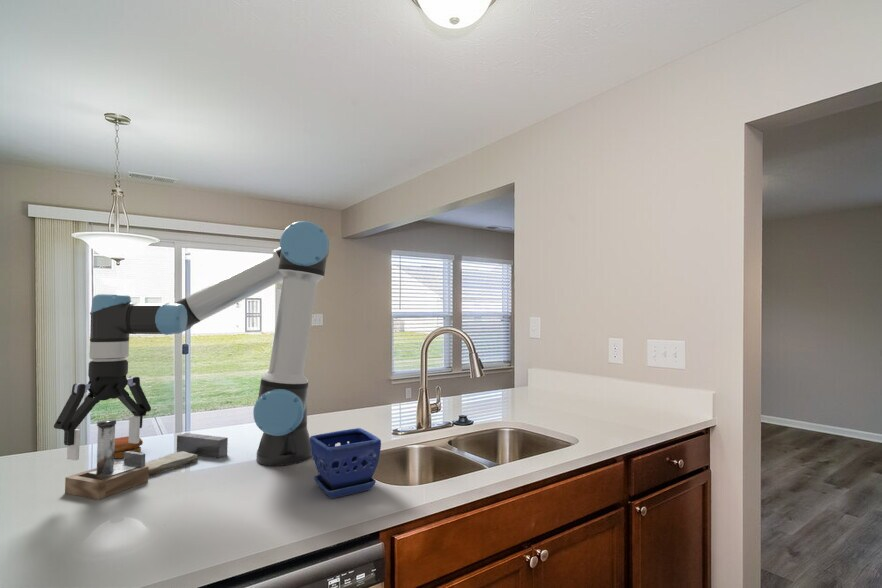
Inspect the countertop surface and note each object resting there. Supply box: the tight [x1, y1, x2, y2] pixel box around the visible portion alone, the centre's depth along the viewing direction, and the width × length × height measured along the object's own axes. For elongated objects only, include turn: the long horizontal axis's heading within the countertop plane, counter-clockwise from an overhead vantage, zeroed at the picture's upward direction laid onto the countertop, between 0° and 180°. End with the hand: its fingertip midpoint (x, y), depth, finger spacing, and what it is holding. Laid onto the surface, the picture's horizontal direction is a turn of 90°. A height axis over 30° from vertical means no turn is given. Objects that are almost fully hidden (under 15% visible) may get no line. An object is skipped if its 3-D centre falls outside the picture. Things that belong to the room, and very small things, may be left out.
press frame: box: [64, 461, 149, 501], centre depth 105 cm, size 11×12×4 cm
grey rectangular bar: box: [176, 432, 229, 459], centre depth 129 cm, size 16×3×5 cm, turn 71°
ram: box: [88, 419, 146, 480], centre depth 107 cm, size 7×9×14 cm
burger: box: [114, 435, 144, 459], centre depth 130 cm, size 10×9×5 cm
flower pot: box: [310, 427, 382, 499], centre depth 104 cm, size 13×13×12 cm
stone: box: [145, 451, 199, 476], centre depth 119 cm, size 15×11×3 cm
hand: (105, 450), depth 104 cm, fingers open, 13 cm apart
